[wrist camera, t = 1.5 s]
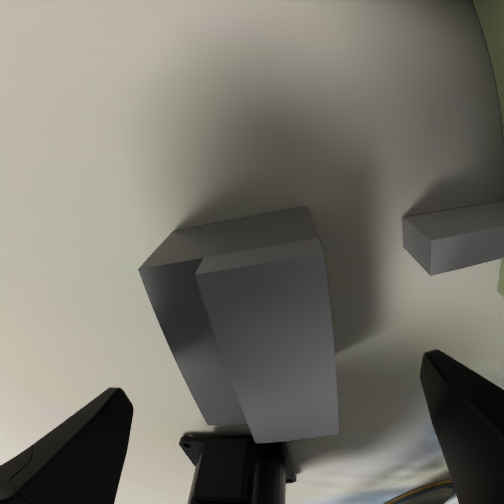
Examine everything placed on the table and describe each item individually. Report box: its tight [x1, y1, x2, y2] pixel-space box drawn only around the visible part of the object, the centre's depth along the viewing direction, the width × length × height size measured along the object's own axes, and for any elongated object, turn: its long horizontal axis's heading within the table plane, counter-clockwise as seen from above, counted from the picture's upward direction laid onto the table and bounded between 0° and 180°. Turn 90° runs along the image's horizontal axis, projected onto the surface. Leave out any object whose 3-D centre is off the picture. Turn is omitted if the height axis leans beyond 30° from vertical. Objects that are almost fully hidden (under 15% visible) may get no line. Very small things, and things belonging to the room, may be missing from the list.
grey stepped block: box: [138, 206, 339, 444], centre depth 10 cm, size 7×5×4 cm
